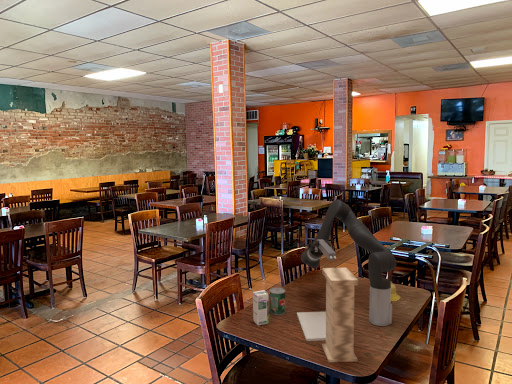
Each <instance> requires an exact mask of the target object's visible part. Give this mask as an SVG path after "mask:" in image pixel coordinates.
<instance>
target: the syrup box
mask: <svg viewBox="0 0 512 384" xmlns="http://www.w3.org/2000/svg"><path fill="white" fill-rule="evenodd" d="M252 312H253V317H252V318H253V322H254V323H255V325H256V326H261V325H268V324H270V295H269V293H268V291H266V290H265V289H263V290H257V291H252Z"/></svg>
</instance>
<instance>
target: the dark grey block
mask: <svg viewBox="0 0 512 384" xmlns="http://www.w3.org/2000/svg"><path fill="white" fill-rule="evenodd" d="M317 240H319V246H318V248H319V249H320V250H321V251H322V253H323V256H324V257H325V258H326V259H327V260H328V261H336V260H337V253H336V252H335V250H334V249H333V247H332V248H331V247H330V246H329V245H328V244H327V243H326V242H325V241H324V240H323V239H317Z"/></svg>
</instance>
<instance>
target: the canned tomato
mask: <svg viewBox="0 0 512 384" xmlns="http://www.w3.org/2000/svg"><path fill="white" fill-rule="evenodd" d="M286 312H287V311H286V289H285V288H283V287H272V288H270V289H269V314H272V315H275V316H281V315H284V314H286Z"/></svg>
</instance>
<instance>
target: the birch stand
mask: <svg viewBox="0 0 512 384" xmlns="http://www.w3.org/2000/svg"><path fill="white" fill-rule="evenodd" d="M321 273H322V275H323V277H324V278H325V312H326V340H325V343H321V347H322V350H323V352H324V354H325V357H326V358H327V361H328V363H341V362H343V363H344V362H346V363H347V362H358V361H359V360H358V357H357V355H356V354H355V352H354V344H355V343H354V341H355V339H354V338H355V337H354V336H355V335H354V334H355V286H359V279H358V278H357V277H356V276H355V275H354V274H353V273H352V272H351V271H350V270H349V269H348V268H347V267H325V268H324V267H322V269H321Z"/></svg>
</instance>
